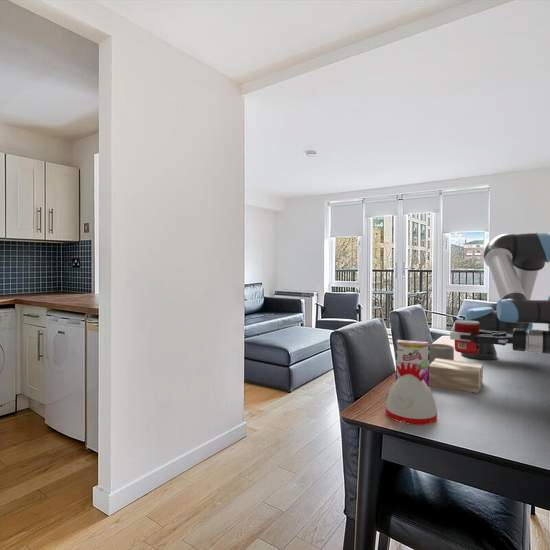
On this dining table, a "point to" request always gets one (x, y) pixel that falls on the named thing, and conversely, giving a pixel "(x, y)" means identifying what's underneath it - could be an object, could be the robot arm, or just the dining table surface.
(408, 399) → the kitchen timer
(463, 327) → the canned food
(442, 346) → the coffee mug
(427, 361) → the candy bar box
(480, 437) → the dining table surface
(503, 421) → the dining table surface
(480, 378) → the oak box
